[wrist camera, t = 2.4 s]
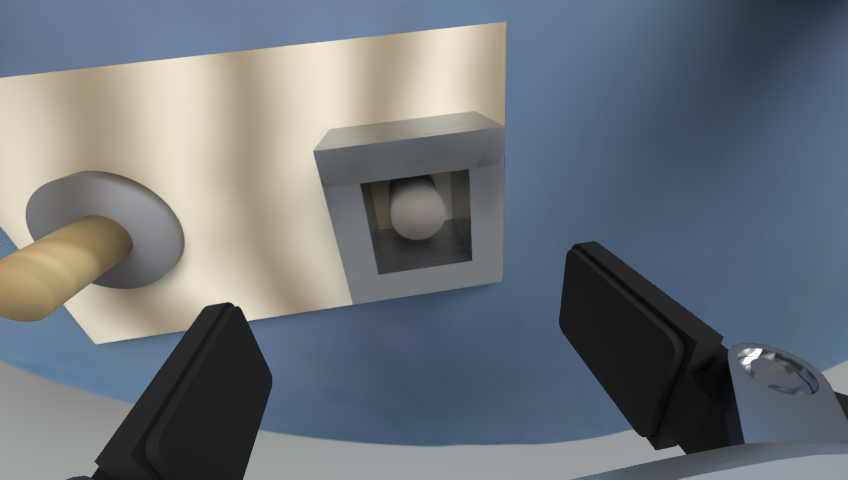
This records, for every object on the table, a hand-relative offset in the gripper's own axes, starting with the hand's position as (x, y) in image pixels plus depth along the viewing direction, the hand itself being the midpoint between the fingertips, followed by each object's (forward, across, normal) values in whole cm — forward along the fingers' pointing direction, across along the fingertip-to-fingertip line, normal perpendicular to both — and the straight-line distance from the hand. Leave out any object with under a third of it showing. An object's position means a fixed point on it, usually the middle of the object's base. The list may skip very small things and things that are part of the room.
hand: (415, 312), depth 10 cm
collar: (+9, -1, -1) cm, 9 cm away
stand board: (+11, +6, -1) cm, 12 cm away
